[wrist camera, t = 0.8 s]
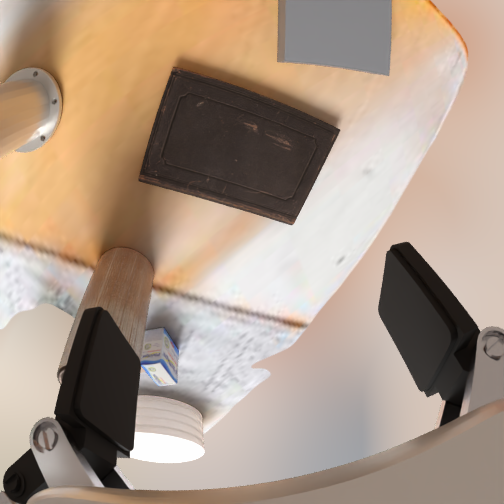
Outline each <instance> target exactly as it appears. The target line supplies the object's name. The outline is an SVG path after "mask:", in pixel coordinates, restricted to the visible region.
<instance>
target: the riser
mask: <svg viewBox="0 0 504 504" xmlns="http://www.w3.org/2000/svg"><path fill="white" fill-rule="evenodd" d="M391 19H392V5H391V0H278V53H277V62H285V63H299V64H310V65H320V66H328V67H336V68H343V69H350V70H356V71H362V72H367V73H373V74H379V75H387V76H389V70H390V53H391Z"/></svg>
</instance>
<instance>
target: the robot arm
mask: <svg viewBox="0 0 504 504" xmlns="http://www.w3.org/2000/svg"><path fill="white" fill-rule="evenodd" d="M56 100H57V102H56ZM61 113H62V97H61V92H60V89H59V86H58V84H57V82H56V80H55V79H54V78H53V76H52V75H51V74H49V73H48V72H47V71H45V70H43V69H40V68H25V69H21V70H19V71H17V72H15V73H14V74H12V75H11V76H10V77H9V78H8V79H7V80H6V81H5V82H4V83H2V84H0V160H1V159H2V158H4V157H5V156H7V155H8V154H10V153H12V152H13V151H17V152H22V153H26V152H31V151H34V150H37V149H38V148H40V147H42V146H43V145H44V144H45V143H47V142H48V141H49V139H50V138H51V137H52V136H53V134H54V133H55V131H56V129H57V127H58V124H59V122H60V117H61ZM378 311H379V315H380V317H381V319H382V321H383V323H384V325H385V326H386V328H387V330H388V332H389V334H390V335H391V337H392V339H393V341H394V343H395V345H396V346H397V348H398V350H399V352H400V354H401V356H402V358H403V360H404V361H405V363H406V365H407V367H408V369H409V371H410V373H411V375H412V377H413V379H414V381H415V383H416V385H417V387H418V389H419V390H420V391H424V392H425V394H426V396H427V397H429V396H431V395H434V394H436V393H438V392H439V394H440V396H441V398H442V403H441V407H440V410H439V414H438V418H437V422H436V425H435V428H434V430H432V431H431V432H428V433H426V434H424V435H422V436H419V437H417V438H415V439H413V440H410V441H408V442H406V443H403V444H401V445H398V446H396V447H393V448H391V449H389V450H386V451H383V452H380V453H378V454H375V455H372V456H369V457H367V458H363V459H360V460H357V461H354V462H351V463H348V464H345V465H341V466H338V467H334V468H331V469H327V470H323V471H320V472H316V473H312V474H307V475H303V476H299V477H294V478H289V479H285V480H279V481H274V482H267V483H261V484H254V485H247V486H240V487H230V488H219V489H205V490H184V491H183V490H181V491H159V490H156V491H155V490H136V489H135V488H134V487H133V486H132V484H131V483H130V482H129V481H128V479H127V478H126V477H125V475H124V474H123V473H122V471H121V470H120V469H119V467H118V466H117V465H116V460H117V457H118V458H130V451H132V450H133V449H134V440H135V424H136V410H137V399H138V388H139V379H140V370H141V362H140V359H139V357H138V355H137V354H136V353H135V351H134V350H133V348H132V347H131V345H130V344H129V342H128V341H127V340H126V338H125V337H124V335H123V334H122V332H121V330H120V329H119V327H118V326H117V324H116V323H115V321H114V320H113V318H112V317H111V315H110V313H109V312H108V311H107V310H104V309H103V308H102V307H93V308H88V309H85V310H84V312H83V314H82V317H81V320H80V323H79V326H78V329H77V332H76V335H75V338H74V341H73V344H72V347H71V351H70V354H69V357H68V361H67V364H66V368H65V371H64V375H63V379H62V382H61V386H60V390H59V394H58V399H57V402H56V407H55V411H54V414H55V415H56V417H55V419H53V418H49V417H47V418H43V419H41V420H39V421H38V422H37V423H36V424H35V425H34V427H33V428H32V430H31V433H30V445H31V448H30V449H29V450H28V451H27V452H26V453H25V454H24V455H23V456H21V457H20V458H19V459H18V460H17V461H16V462H15V463H14V464H13V465H12V466H10V467H9V468H8V469H7V471H6V472H5V475H4V479H3V486H4V490H5V492H4V491H1V493H0V504H504V330H503V329H501V328H499V327H487V328H485V329H483V330H482V331H481V332H480V330H479V329H478V326H477V325H476V323H475V322H474V321H473V319H472V318H471V317H470V315H469V314H468V313H467V311H466V310H465V309H464V307H463V306H462V305H461V303H460V302H459V301H458V299H457V298H456V297H455V296H454V295H453V293H452V292H451V291H450V289H449V288H448V287H447V286H446V285H445V283H444V282H443V281H442V280H441V279H440V277H439V276H438V275H437V274H436V272H435V271H434V270H433V269H432V268H431V267H430V266H429V264H428V263H427V262H426V261H425V260H424V259H423V258H422V256H421V255H420V254H419V253H418V252H417V251H416V250H415V249H414V247H413V246H412V245H411V244H410V243H409V242H403V243H399V244H395V245H392V246H391V248H390V250H389V251H387V254H386V261H385V268H384V275H383V282H382V288H381V295H380V300H379V306H378Z"/></svg>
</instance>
